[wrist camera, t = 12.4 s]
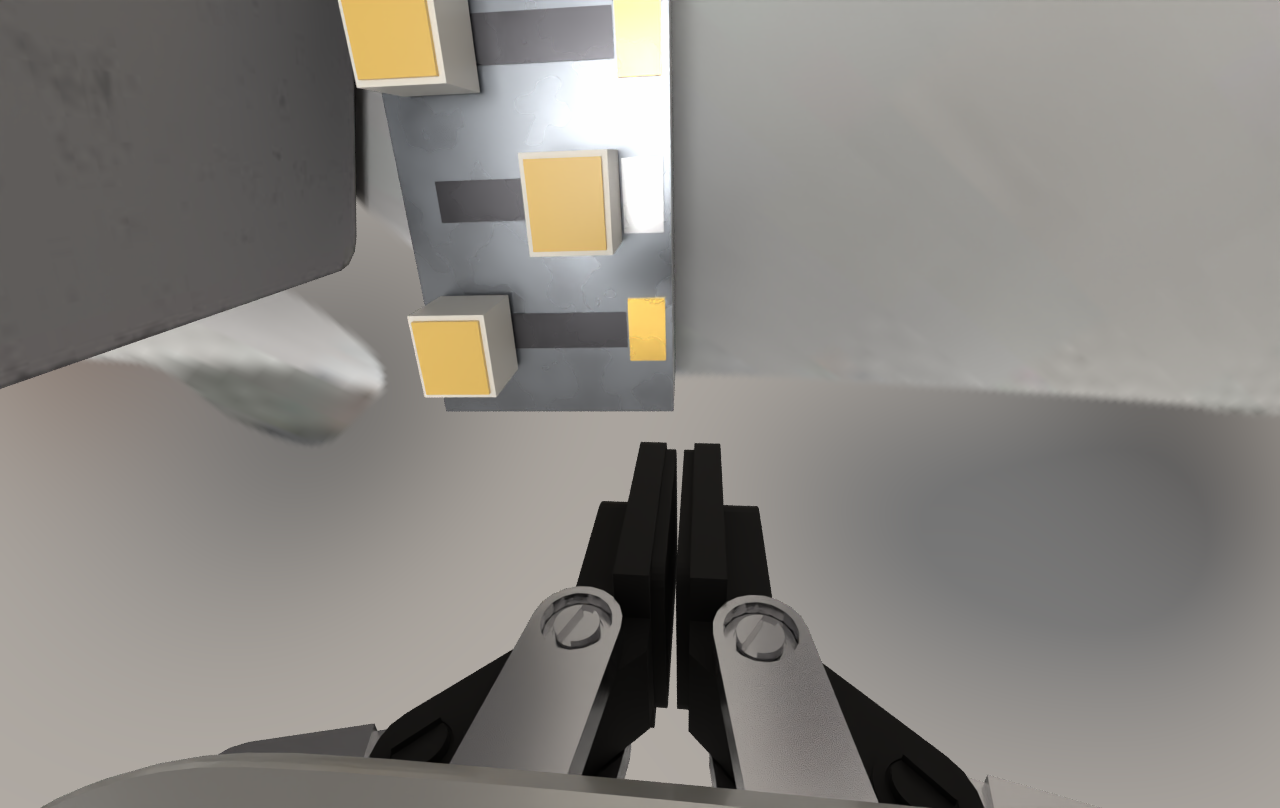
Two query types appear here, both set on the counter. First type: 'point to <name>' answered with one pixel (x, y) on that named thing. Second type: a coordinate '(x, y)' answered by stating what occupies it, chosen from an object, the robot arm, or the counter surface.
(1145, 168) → the counter surface
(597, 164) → the switch
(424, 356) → the switch
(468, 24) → the switch
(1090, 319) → the counter surface
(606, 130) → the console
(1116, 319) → the counter surface
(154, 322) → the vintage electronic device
